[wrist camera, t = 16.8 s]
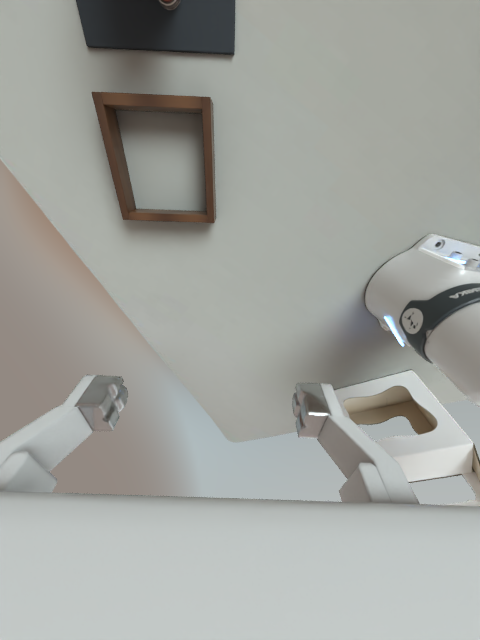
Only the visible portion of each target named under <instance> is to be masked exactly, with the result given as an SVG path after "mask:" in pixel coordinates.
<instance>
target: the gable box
mask: <svg viewBox="0 0 480 640" xmlns="http://www.w3.org/2000/svg"><path fill="white" fill-rule="evenodd" d="M334 392H335V395H336V397H337V399H338V402H339V404H340V407H341V409H342V412H343V414H344V416H348V417H349V418H350V419H351V420H352V421H353V422H354V423H355V424H357V425H358V424H365V425H373V424H379V423H382V422H385V421H387V420H389V419H390V418H393V417H396V416H404V417H406V418H407V419H408V420H409V422H410V423H411V426H412V428H413V429H414V431H415V432H416V433H417V434H418V435H412V436H393V437H387V438H384V439H381V440H378V441H375V442H376V443H377V444H378V445H379V446H381V447H382V448H383V449H384V450H385V451H386V452H387V453H388V454H389V455H390V456H392V457H393V458H394V459H395V460H396V461H397V462H398V463H399V465H400V467H401V468H402V470H403V472H404V474H405V476H406V478H407V480H408V482H409V483H412V482H418V481H425V480H432V479H439V478H445V477H451V476H458V475H462V476H463V477H464V479H465V480H466V482H467V483H468V484H469V486H470V487H471V489H472V490H473V492H474V493H475V496H476V499H475V501H474V500H468V501H467V502H460V503H452V504H444V505H461V506H480V460H479V457H478V454H477V451H476V448H475V445H474V443H473V442H472V440H471V439H470V438H469V437H468V436H467V434H466V433H465V432H464V431H463V430H462V428H461V427H460V426H459V425H458V424H457V423H456V421H455V420H454V419H453V418H452V417H451V415H450V414H449V413H448V412H447V411H446V409H445V408H444V407H443V406H442V405H441V403H440V402H439V401H438V400H437V399H436V397H435V396H434V395H433V394H432V393H431V391H430V390H429V389H428V388H427V387H426V385H425V384H424V383H423V382H422V381H421V379H420V378H419V377H418V376H417V375H416V373H415V372H414V371H413V370H409V371H405V372H401V373H397V374H394V375H390V376H386V377H382V378H378V379H375V380H371V381H367V382H363V383H359V384H355V385H352V386H348V387H344V388H340V389H336V390H334Z"/></svg>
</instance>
